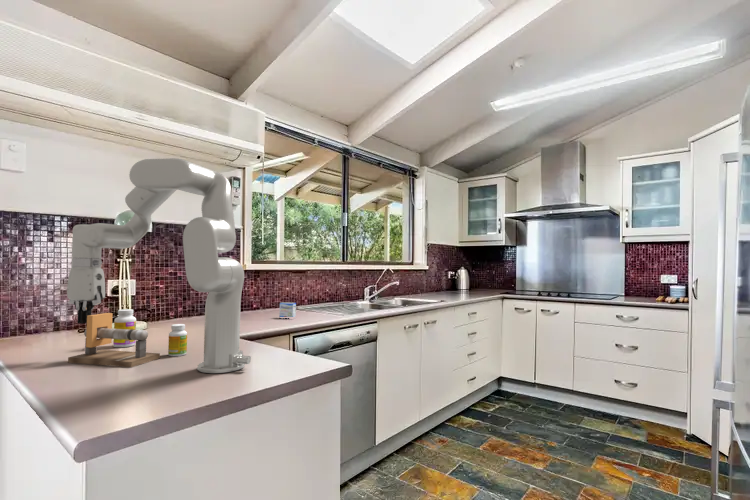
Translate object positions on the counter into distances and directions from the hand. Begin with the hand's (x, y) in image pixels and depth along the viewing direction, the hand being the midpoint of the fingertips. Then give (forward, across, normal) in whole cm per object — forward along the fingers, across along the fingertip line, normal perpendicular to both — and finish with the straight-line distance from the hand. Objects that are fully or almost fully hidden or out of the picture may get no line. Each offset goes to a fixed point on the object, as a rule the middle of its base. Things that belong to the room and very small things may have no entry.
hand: (84, 322), depth 123 cm
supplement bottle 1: (+11, +2, -18) cm, 21 cm away
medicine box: (+11, -24, -99) cm, 102 cm away
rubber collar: (+7, -6, 0) cm, 9 cm away
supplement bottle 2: (+11, -25, -11) cm, 29 cm away
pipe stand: (+11, -12, 0) cm, 16 cm away
